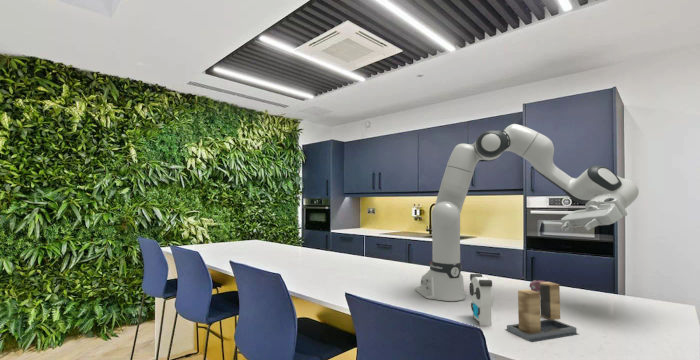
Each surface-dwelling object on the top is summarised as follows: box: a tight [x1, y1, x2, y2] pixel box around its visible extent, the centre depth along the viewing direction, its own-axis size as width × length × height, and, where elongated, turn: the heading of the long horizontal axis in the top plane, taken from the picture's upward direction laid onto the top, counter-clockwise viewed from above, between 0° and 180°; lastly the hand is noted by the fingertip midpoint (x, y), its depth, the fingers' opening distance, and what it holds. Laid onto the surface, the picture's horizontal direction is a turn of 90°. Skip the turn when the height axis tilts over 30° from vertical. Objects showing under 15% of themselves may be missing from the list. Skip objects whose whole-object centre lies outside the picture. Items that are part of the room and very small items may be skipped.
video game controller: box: [529, 279, 546, 293], centre depth 149 cm, size 10×5×7 cm, turn 47°
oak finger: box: [540, 281, 561, 320], centre depth 116 cm, size 4×4×12 cm
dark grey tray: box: [504, 319, 580, 343], centre depth 103 cm, size 10×18×2 cm, turn 110°
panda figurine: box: [469, 273, 494, 327], centre depth 112 cm, size 12×11×15 cm
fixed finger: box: [517, 288, 541, 333], centre depth 102 cm, size 4×4×12 cm
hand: (573, 229), depth 121 cm, fingers open, 8 cm apart
